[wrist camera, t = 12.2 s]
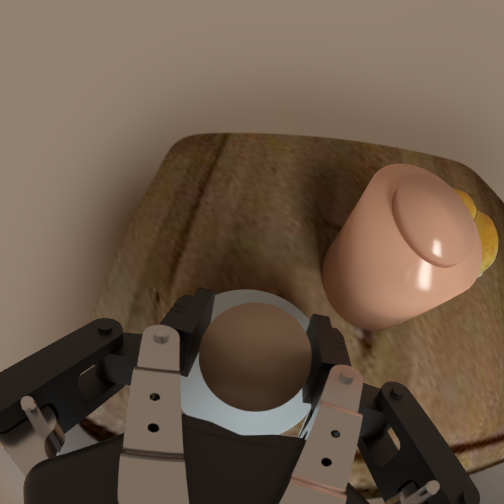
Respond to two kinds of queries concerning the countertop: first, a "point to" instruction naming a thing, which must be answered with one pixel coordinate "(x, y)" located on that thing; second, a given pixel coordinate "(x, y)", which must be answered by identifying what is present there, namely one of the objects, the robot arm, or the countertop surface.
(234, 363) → the lid
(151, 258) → the countertop surface
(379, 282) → the canister
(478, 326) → the countertop surface
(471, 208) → the bread roll
